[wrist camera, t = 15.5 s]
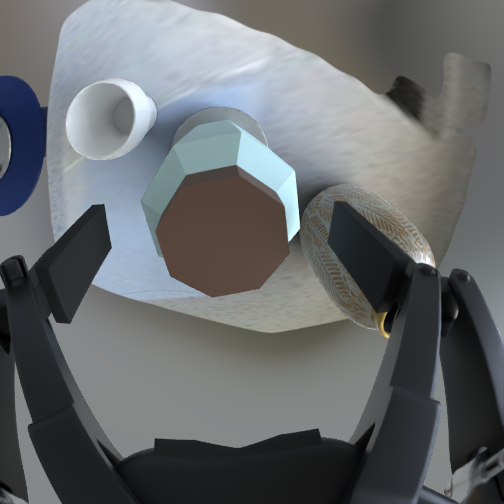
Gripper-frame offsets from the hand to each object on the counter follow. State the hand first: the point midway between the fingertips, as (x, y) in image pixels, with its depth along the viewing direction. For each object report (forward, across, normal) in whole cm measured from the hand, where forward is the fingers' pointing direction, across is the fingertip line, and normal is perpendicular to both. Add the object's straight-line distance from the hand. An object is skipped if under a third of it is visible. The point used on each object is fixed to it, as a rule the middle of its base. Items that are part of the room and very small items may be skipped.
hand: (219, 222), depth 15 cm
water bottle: (+23, 0, 0) cm, 23 cm away
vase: (+32, +22, -13) cm, 41 cm away
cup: (+32, -14, +6) cm, 35 cm away
